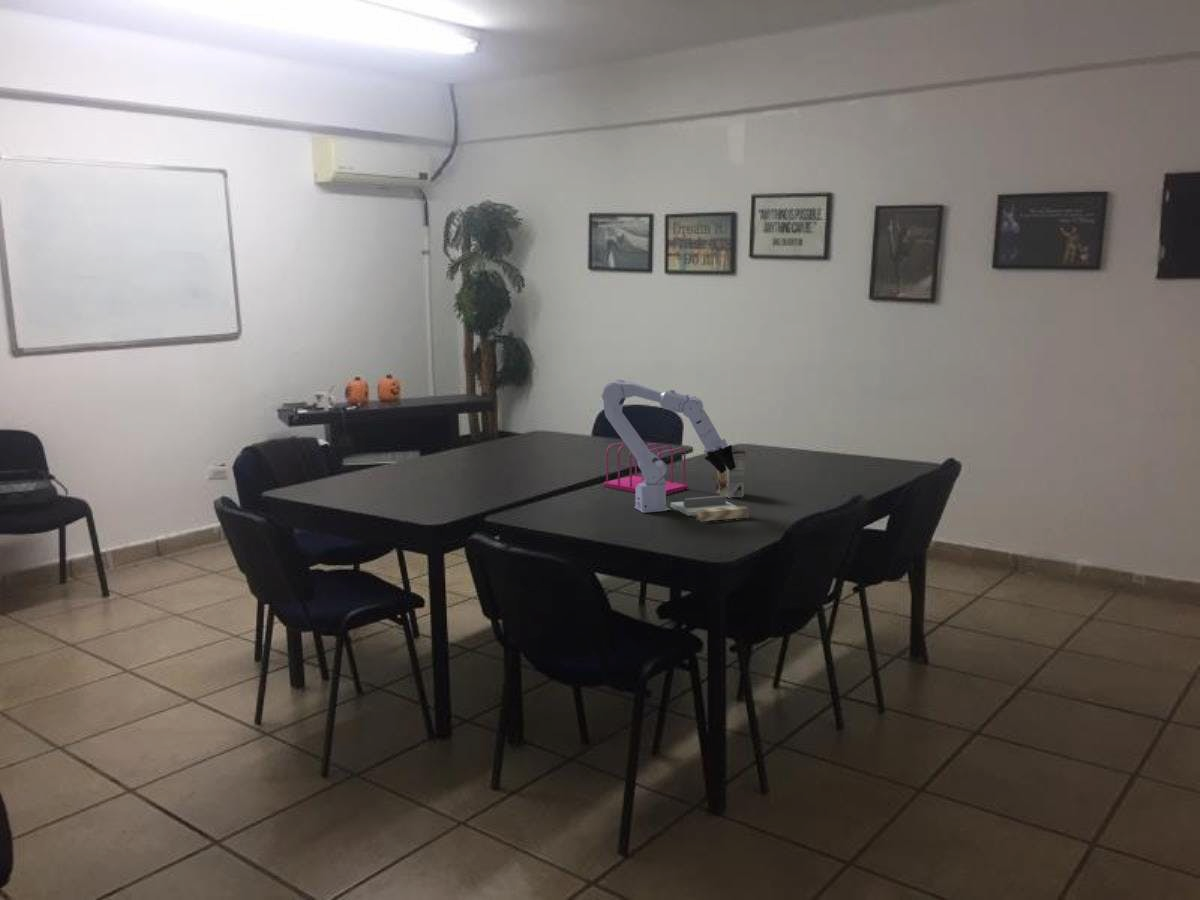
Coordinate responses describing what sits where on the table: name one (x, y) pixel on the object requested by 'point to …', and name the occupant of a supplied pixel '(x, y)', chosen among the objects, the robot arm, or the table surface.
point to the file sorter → (632, 481)
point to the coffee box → (732, 477)
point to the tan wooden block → (722, 513)
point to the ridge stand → (700, 504)
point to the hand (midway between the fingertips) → (728, 470)
